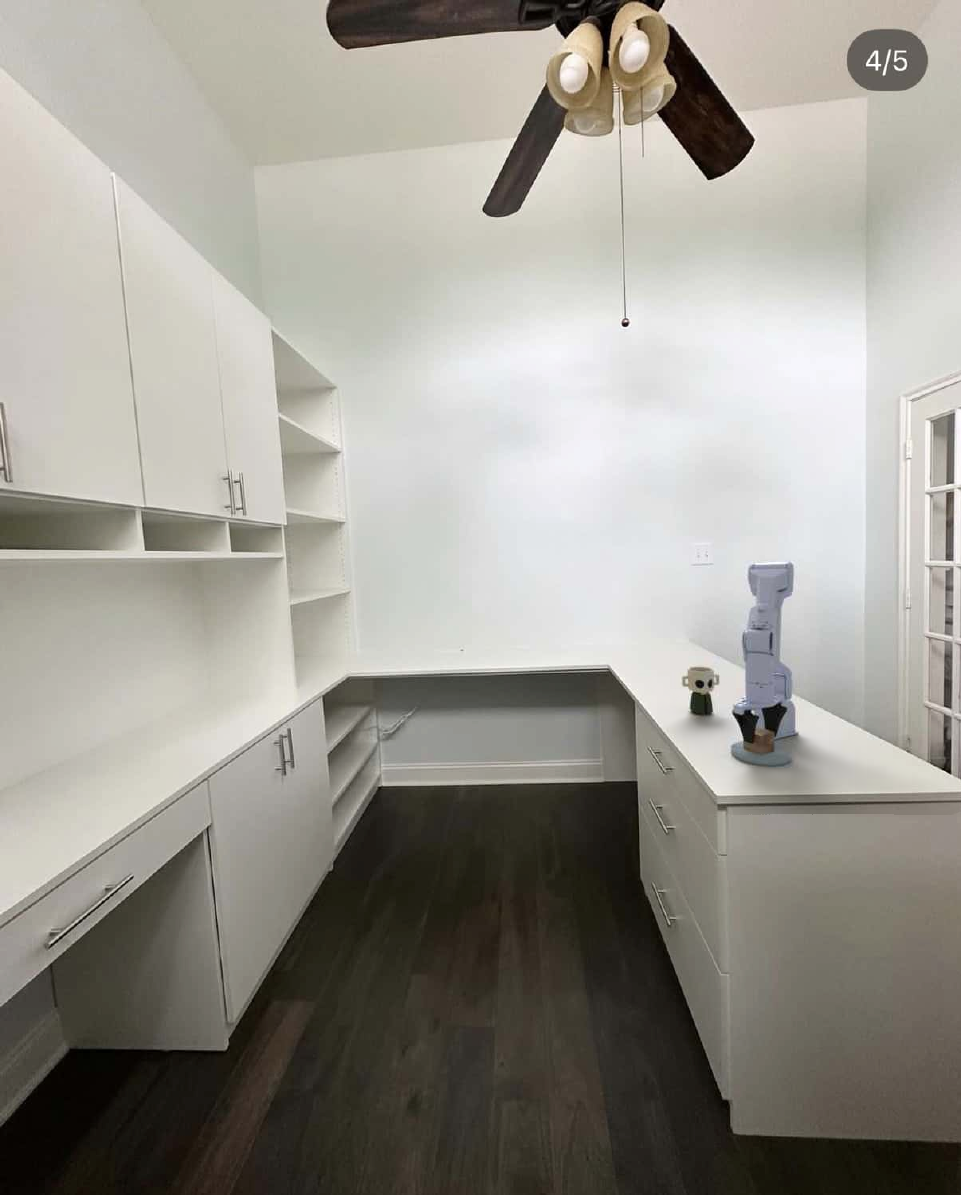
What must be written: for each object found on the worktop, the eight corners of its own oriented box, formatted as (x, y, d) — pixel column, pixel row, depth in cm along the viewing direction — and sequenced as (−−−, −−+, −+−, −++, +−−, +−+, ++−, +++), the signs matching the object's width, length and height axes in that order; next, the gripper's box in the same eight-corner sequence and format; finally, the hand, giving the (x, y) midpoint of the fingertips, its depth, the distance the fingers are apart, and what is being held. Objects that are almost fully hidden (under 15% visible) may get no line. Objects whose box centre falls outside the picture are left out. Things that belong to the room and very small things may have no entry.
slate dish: (756, 742, 123) (756, 737, 123) (803, 759, 112) (803, 754, 112) (719, 751, 119) (719, 746, 119) (763, 770, 108) (763, 765, 108)
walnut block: (756, 745, 119) (756, 726, 118) (774, 751, 115) (774, 732, 114) (743, 748, 117) (743, 730, 117) (761, 755, 113) (760, 735, 113)
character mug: (687, 717, 144) (686, 672, 143) (678, 709, 151) (677, 667, 150) (725, 715, 144) (725, 670, 143) (714, 707, 151) (713, 665, 150)
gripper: (765, 673, 121) (765, 728, 122) (721, 682, 115) (722, 739, 116) (793, 679, 114) (793, 737, 115) (748, 689, 109) (749, 749, 110)
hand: (759, 739), depth 115 cm, fingers open, 7 cm apart
